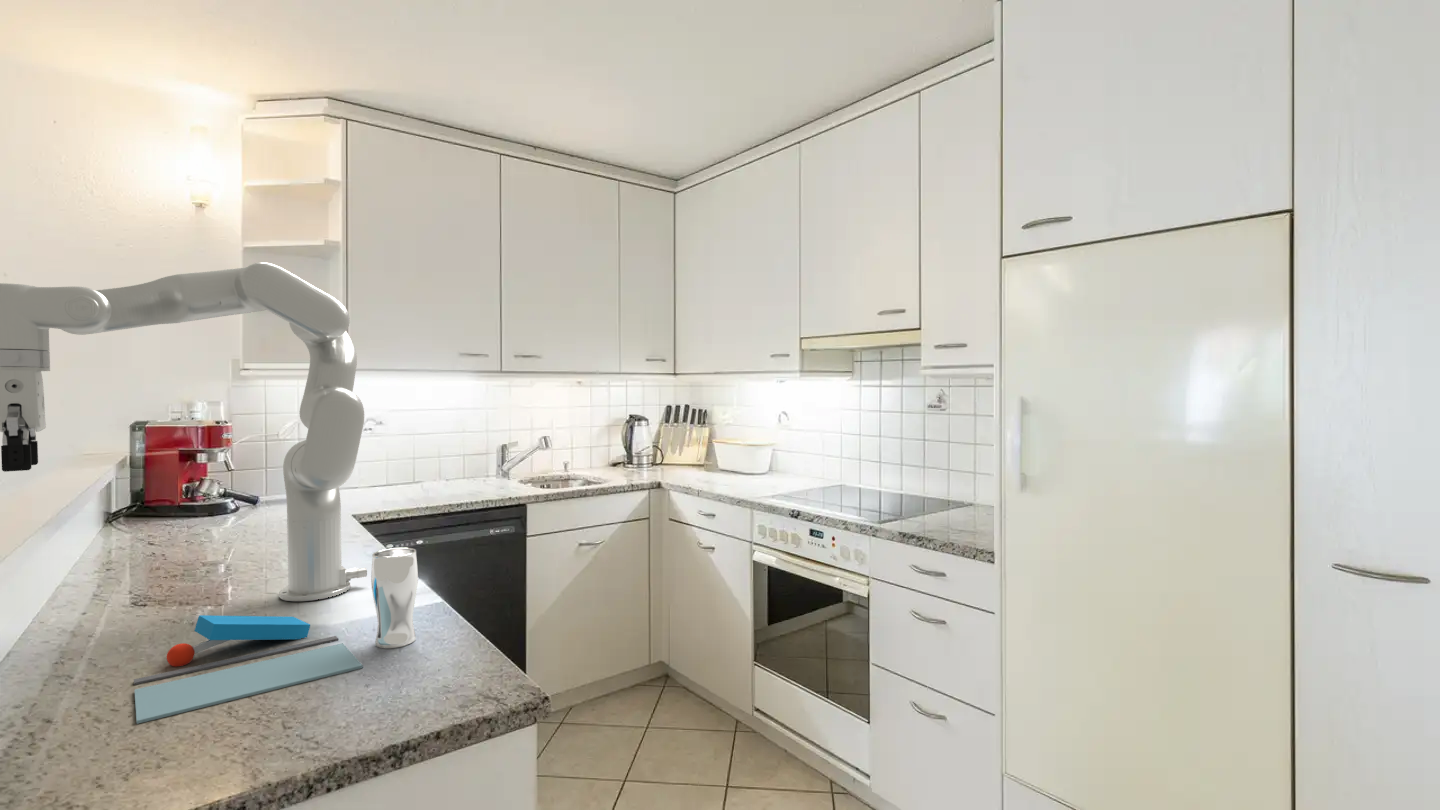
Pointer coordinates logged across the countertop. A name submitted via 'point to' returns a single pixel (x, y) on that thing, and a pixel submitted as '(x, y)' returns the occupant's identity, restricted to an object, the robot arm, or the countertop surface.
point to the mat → (241, 682)
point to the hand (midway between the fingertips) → (20, 467)
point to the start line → (232, 660)
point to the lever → (237, 633)
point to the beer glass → (394, 595)
